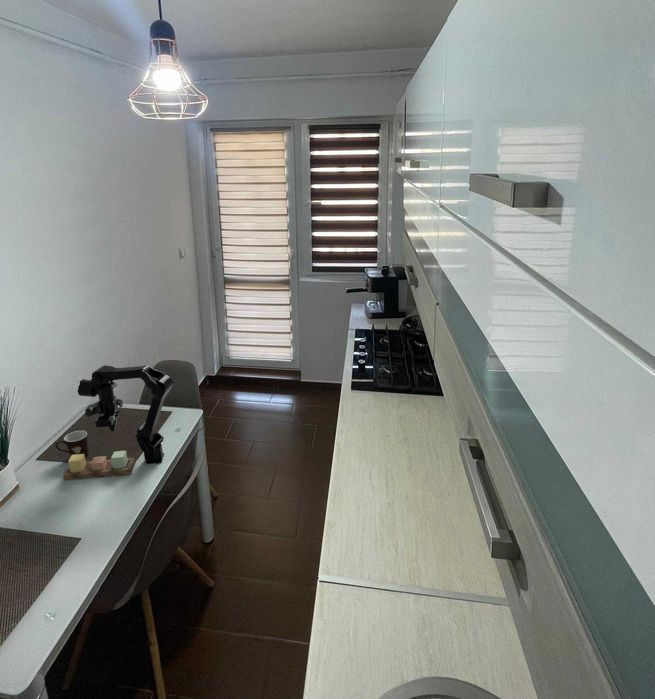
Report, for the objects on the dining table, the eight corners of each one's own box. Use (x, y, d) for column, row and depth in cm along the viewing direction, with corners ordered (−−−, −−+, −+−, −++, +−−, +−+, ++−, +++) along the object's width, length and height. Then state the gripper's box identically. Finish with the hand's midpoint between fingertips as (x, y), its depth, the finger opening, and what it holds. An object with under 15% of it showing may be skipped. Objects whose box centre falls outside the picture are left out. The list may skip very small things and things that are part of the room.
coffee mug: (95, 451, 210) (91, 431, 206) (84, 463, 202) (79, 442, 198) (69, 450, 211) (65, 429, 207) (57, 461, 203) (52, 440, 199)
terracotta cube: (108, 466, 199) (106, 455, 197) (104, 473, 194) (102, 462, 192) (96, 467, 198) (94, 456, 196) (92, 474, 194) (90, 463, 192)
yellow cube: (86, 464, 197) (84, 453, 195) (82, 471, 193) (80, 460, 191) (74, 465, 196) (72, 454, 195) (70, 472, 192) (67, 461, 190)
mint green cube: (128, 461, 199) (126, 450, 197) (125, 467, 195) (123, 457, 193) (116, 462, 198) (114, 451, 196) (113, 468, 194) (111, 458, 192)
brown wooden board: (135, 462, 202) (134, 457, 201) (130, 474, 194) (129, 469, 193) (71, 467, 199) (70, 462, 198) (63, 480, 191) (62, 475, 190)
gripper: (92, 388, 204) (99, 421, 210) (77, 409, 187) (85, 444, 192) (120, 386, 205) (126, 419, 211) (108, 407, 188) (114, 442, 194)
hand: (113, 430), depth 202 cm, fingers closed
